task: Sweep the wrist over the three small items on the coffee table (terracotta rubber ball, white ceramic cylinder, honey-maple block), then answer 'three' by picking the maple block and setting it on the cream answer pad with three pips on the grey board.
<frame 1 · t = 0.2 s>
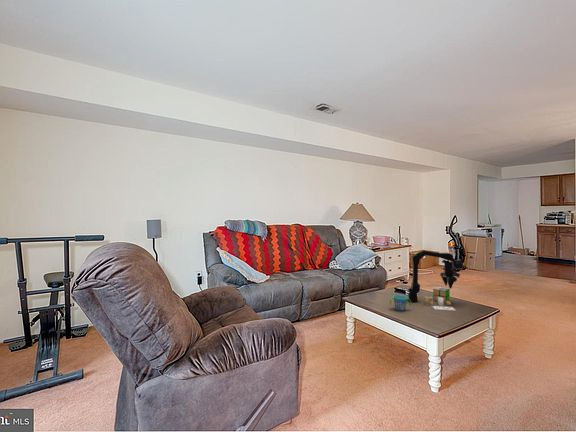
hand: (448, 286, 231), 14 cm above the table, fingers open, 9 cm apart
ceramic cylinder: (440, 305, 227), on the table
rubber ball: (448, 305, 226), on the table
snack cup: (400, 309, 218), on the table
puzzle cube: (441, 300, 239), on the table
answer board: (443, 308, 218), on the table
maple block: (428, 304, 229), on the table
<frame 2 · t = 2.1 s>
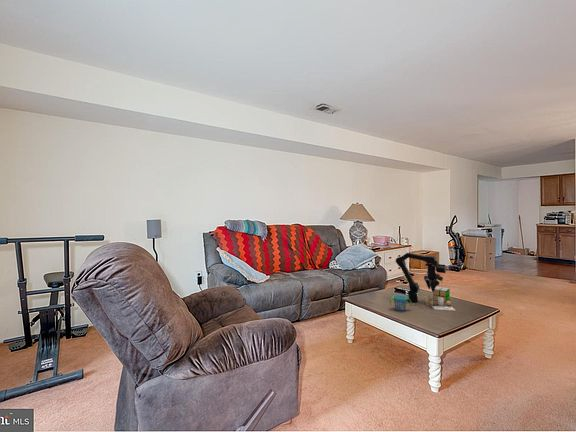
hand: (431, 290, 228), 12 cm above the table, fingers open, 9 cm apart
nothing on the table moved.
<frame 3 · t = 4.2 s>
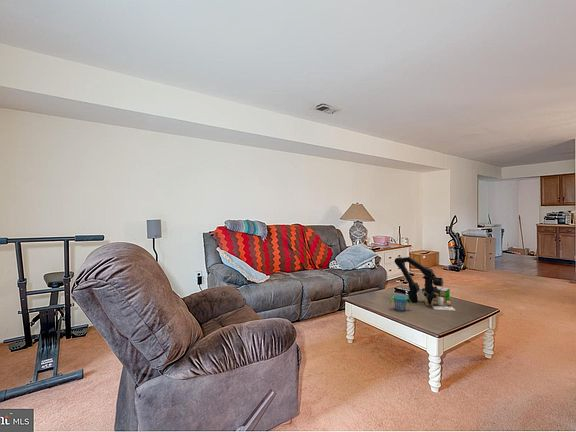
hand: (428, 303, 229), 1 cm above the table, fingers closed on maple block, 5 cm apart
maple block: (428, 304, 229), on the table, touching gripper
everything else where it was.
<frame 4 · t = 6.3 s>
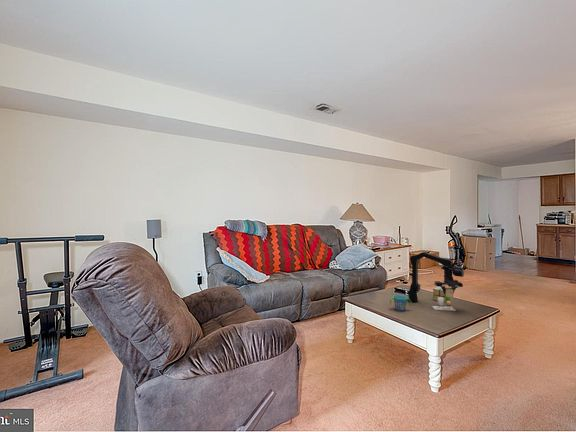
hand: (448, 294, 218), 11 cm above the table, fingers closed on maple block, 5 cm apart
maple block: (448, 296, 217), point 10 cm above the table, touching gripper
everything else where it was.
when the fingers open (3 cm above the table, at t = 8.5 s): maple block drops 1 cm, resting on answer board.
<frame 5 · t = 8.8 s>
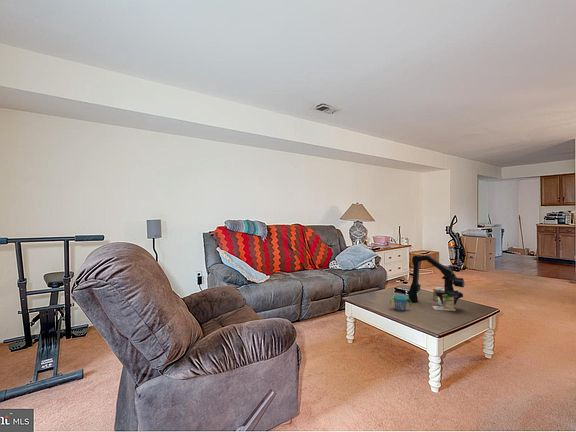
hand: (448, 304, 218), 3 cm above the table, fingers open, 8 cm apart
maple block: (448, 307, 218), point 1 cm above the table, touching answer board
everything else where it was.
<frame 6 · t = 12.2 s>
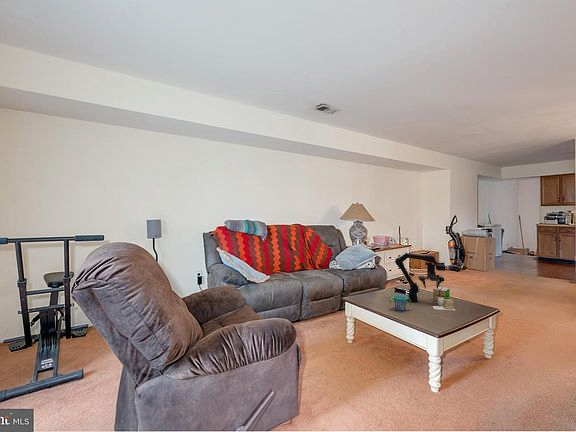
hand: (431, 288, 232), 12 cm above the table, fingers open, 9 cm apart
nothing on the table moved.
at the end: maple block 0.0 cm from the target spot on the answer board, point 0.9 cm above the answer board's base; maple block tilted 0°; the gripper is holding nothing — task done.
